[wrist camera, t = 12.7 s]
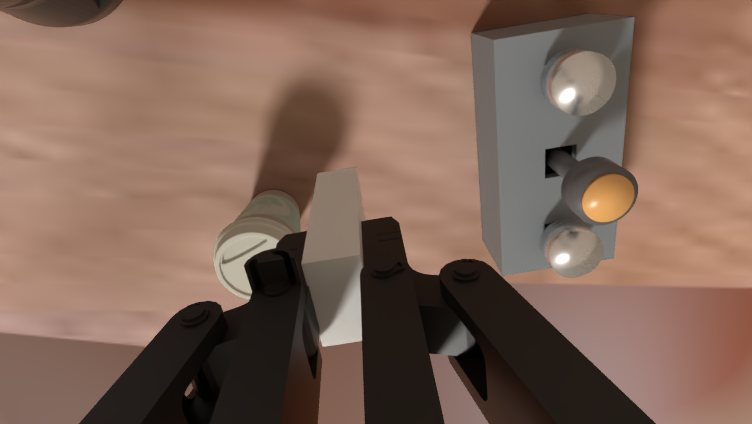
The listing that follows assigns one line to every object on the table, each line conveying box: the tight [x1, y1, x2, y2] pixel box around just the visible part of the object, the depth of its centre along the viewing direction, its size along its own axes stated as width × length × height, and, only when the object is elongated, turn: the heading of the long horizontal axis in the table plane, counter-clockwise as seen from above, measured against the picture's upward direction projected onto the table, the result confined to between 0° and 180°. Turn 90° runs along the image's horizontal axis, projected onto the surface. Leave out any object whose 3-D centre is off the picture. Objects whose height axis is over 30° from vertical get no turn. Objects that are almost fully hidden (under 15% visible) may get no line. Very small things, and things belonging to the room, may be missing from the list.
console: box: [471, 14, 635, 276], centre depth 48 cm, size 24×12×8 cm, turn 9°
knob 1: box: [540, 48, 616, 116], centre depth 42 cm, size 5×5×12 cm
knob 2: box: [539, 218, 604, 278], centre depth 49 cm, size 5×5×12 cm
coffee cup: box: [213, 190, 300, 300], centre depth 48 cm, size 8×8×12 cm
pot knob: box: [545, 147, 638, 226], centre depth 41 cm, size 5×5×12 cm
